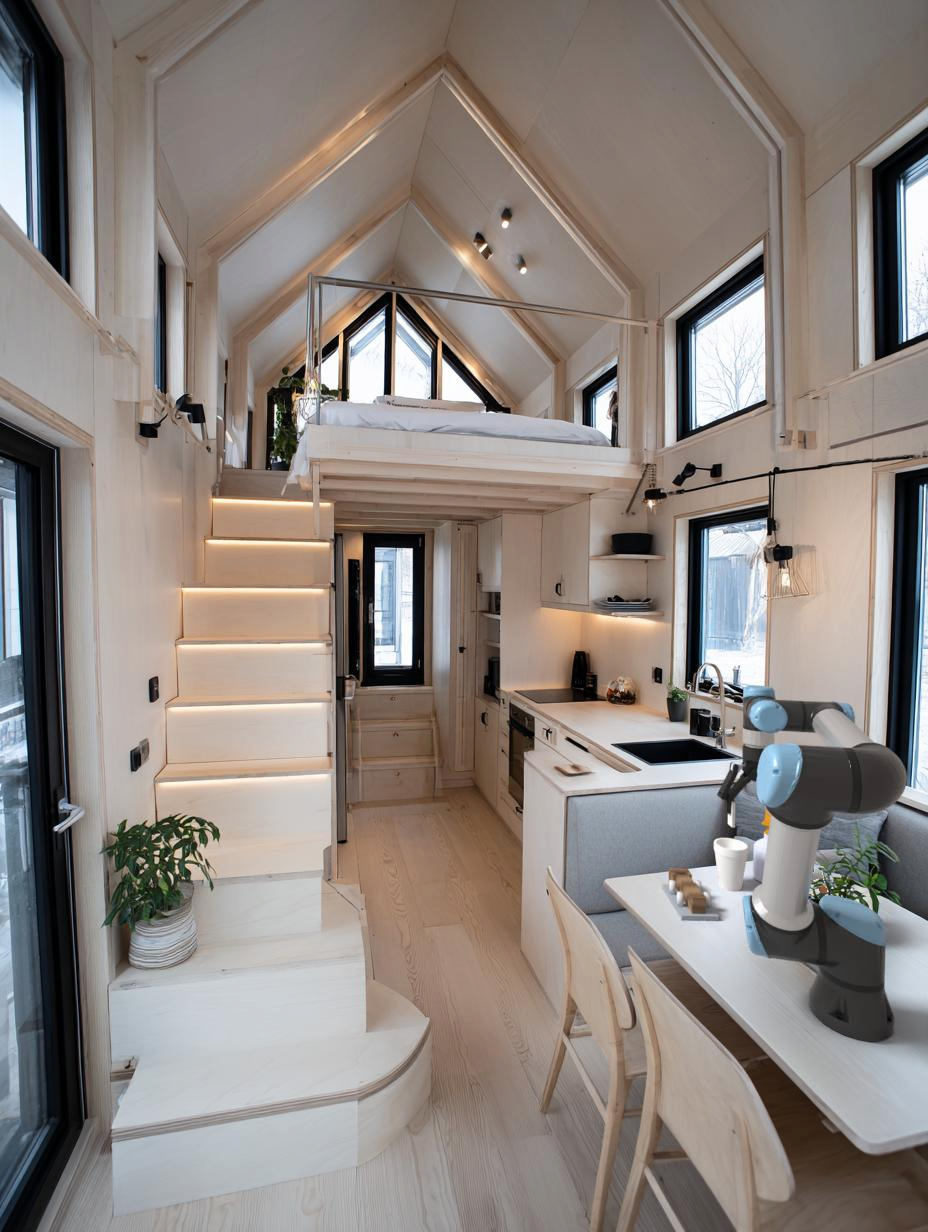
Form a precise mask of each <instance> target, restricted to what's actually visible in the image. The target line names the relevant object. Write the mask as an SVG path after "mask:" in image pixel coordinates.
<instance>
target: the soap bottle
mask: <svg viewBox="0 0 928 1232" xmlns="http://www.w3.org/2000/svg"><path fill="white" fill-rule="evenodd" d="M764 810H765V811H764V812H765V814H764V820H763V821H762V822H761V825H763V826H765V828H766V829H764V830H763V838H759V839H757V840H756V841H755V842H754V844H753V850H752V851H753V858H752V859H753V862H752V864H753V867H752V869H753V871H752V873H753V878H754V879H755V880H757V881H758V882H760V883H762V880H763V872H764V865H765V857H766V850H767V842H768V835H769V827H770V820H771V815H770V814H769V813H768V811H767V810H766V808H765V809H764Z"/></svg>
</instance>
